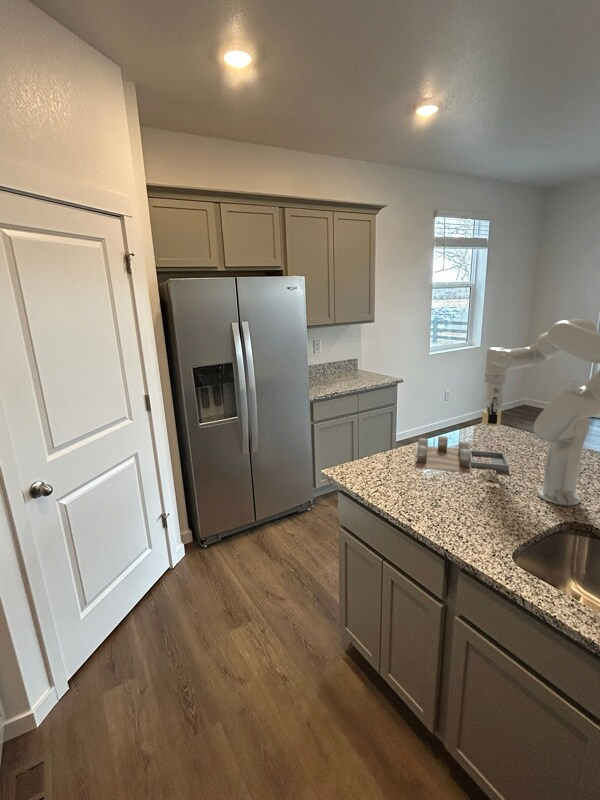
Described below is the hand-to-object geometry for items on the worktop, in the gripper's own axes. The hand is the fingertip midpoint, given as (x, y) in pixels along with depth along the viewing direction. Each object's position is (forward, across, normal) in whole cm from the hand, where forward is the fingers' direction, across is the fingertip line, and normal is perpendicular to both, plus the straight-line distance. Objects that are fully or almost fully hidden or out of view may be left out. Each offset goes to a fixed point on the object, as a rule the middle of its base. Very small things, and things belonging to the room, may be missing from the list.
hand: (491, 420), depth 160 cm
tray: (+19, 0, 0) cm, 19 cm away
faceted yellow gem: (+1, 0, 0) cm, 1 cm away
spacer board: (+19, -1, +18) cm, 26 cm away
